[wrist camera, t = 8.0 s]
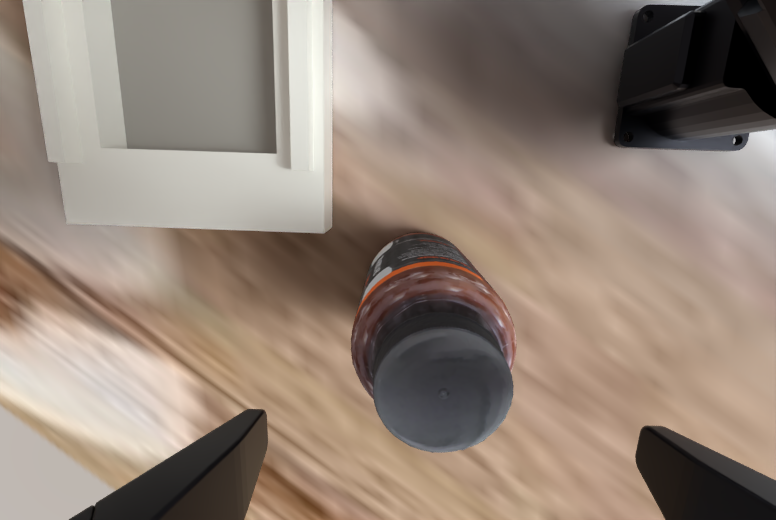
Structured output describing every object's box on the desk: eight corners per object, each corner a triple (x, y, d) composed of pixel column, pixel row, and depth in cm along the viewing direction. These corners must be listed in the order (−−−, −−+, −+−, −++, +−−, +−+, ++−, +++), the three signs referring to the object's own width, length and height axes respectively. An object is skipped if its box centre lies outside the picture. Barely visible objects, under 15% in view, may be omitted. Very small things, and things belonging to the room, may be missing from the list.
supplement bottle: (351, 252, 21) (302, 332, 10) (450, 215, 20) (515, 256, 9) (388, 343, 22) (381, 507, 11) (483, 310, 22) (575, 448, 11)
